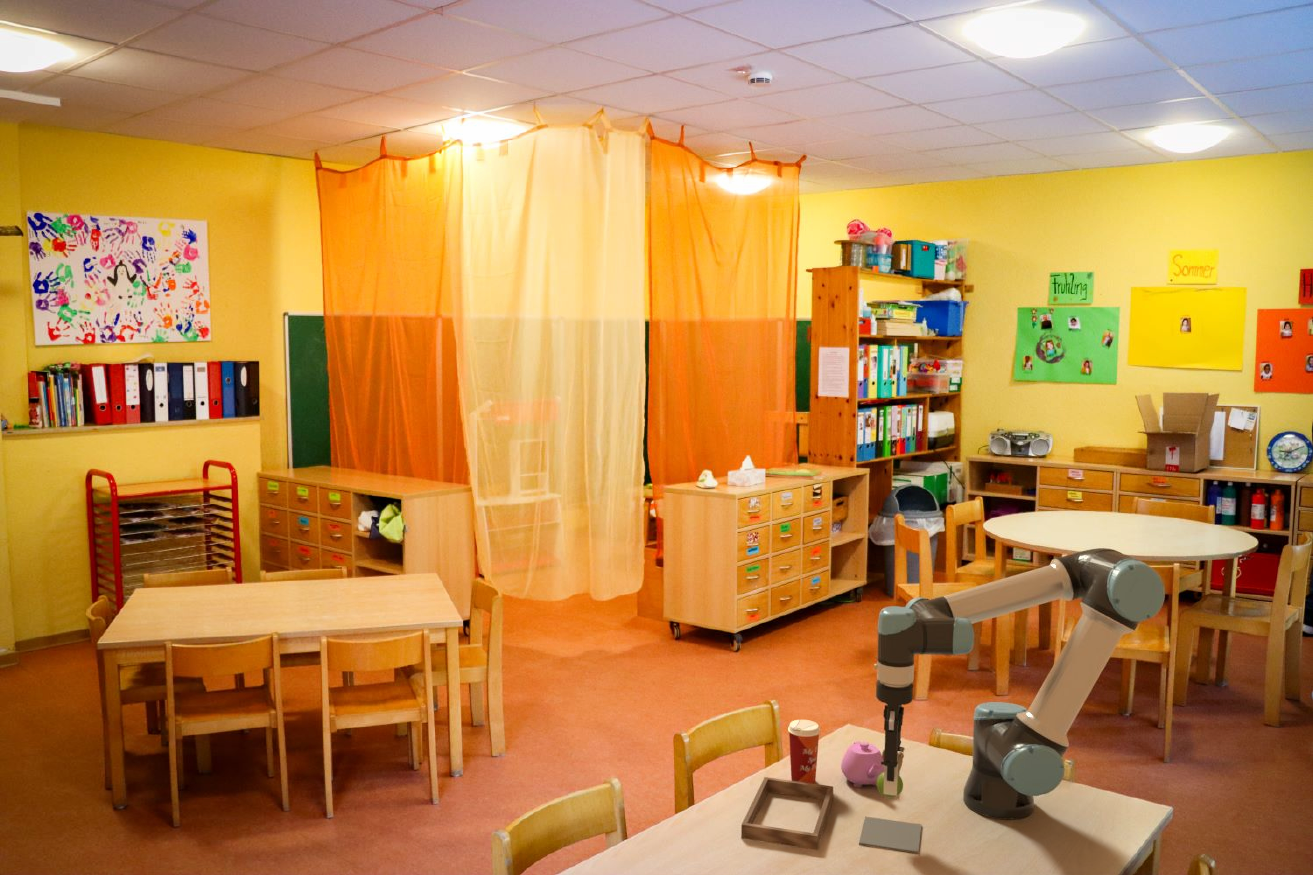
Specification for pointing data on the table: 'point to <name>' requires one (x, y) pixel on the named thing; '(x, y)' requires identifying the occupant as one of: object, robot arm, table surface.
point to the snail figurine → (899, 781)
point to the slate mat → (890, 834)
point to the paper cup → (803, 750)
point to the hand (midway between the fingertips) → (891, 787)
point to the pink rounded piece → (862, 764)
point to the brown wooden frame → (787, 835)
